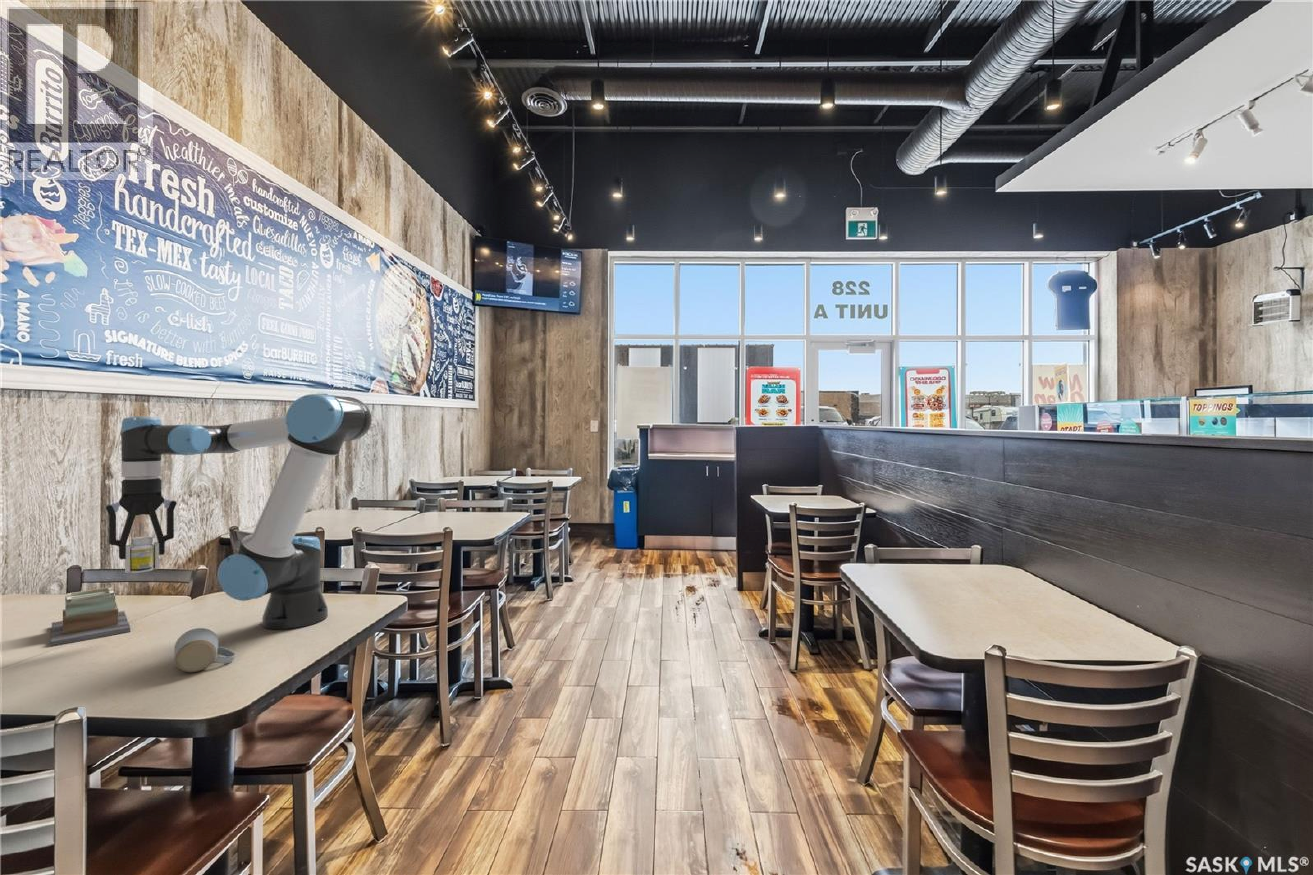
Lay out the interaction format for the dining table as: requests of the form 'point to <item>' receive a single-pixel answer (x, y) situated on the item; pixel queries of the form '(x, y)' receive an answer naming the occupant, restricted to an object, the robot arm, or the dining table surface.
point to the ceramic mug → (199, 650)
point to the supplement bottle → (142, 555)
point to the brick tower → (89, 617)
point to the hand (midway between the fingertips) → (142, 569)
